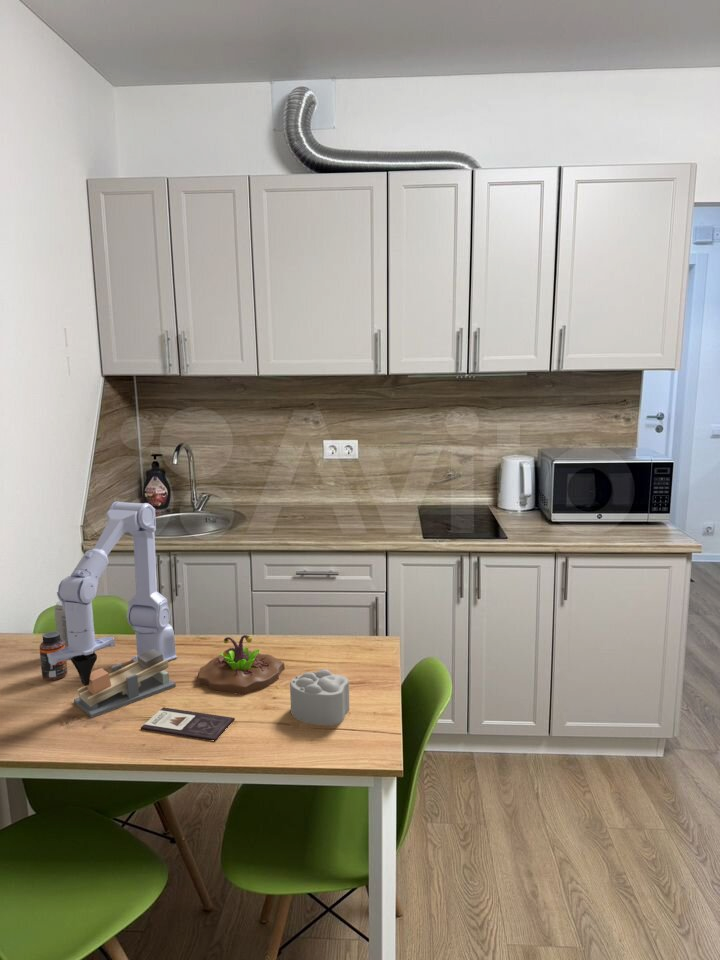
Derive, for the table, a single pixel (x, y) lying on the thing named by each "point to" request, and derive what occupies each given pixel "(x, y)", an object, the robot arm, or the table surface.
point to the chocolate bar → (188, 724)
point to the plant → (240, 670)
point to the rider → (98, 681)
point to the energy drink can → (61, 622)
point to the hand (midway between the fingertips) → (85, 684)
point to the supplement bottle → (50, 646)
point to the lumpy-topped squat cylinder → (319, 698)
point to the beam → (142, 668)
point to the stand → (129, 692)
